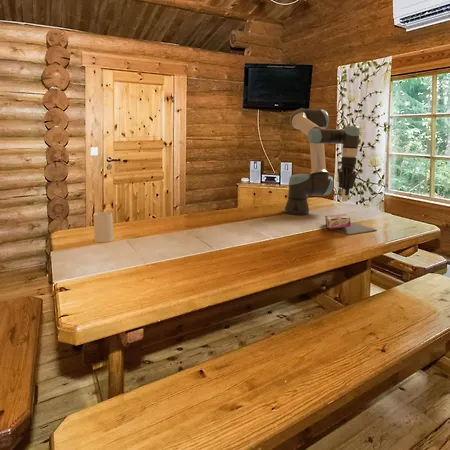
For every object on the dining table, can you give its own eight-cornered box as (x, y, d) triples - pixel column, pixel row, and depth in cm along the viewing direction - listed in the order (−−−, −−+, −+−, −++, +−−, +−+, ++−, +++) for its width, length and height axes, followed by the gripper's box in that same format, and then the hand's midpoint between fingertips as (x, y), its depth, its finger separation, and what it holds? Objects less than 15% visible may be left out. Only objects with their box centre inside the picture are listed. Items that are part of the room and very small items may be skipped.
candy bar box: (325, 224, 217) (328, 229, 201) (324, 215, 216) (327, 219, 200) (346, 222, 215) (351, 226, 198) (345, 213, 214) (350, 217, 198)
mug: (92, 236, 183) (91, 210, 180) (111, 234, 186) (110, 209, 183) (95, 243, 172) (93, 216, 169) (115, 241, 176) (114, 215, 173)
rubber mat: (326, 227, 210) (326, 226, 210) (353, 223, 220) (353, 222, 220) (348, 235, 197) (348, 233, 197) (376, 230, 206) (376, 229, 206)
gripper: (334, 155, 208) (330, 199, 214) (353, 157, 197) (348, 203, 203) (345, 155, 212) (340, 198, 218) (364, 157, 201) (358, 202, 207)
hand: (344, 201), depth 210 cm, fingers closed
